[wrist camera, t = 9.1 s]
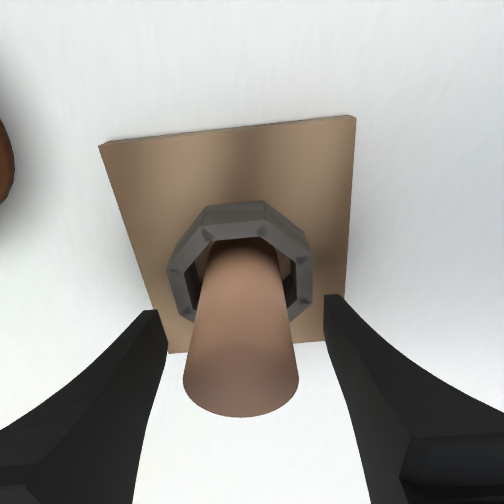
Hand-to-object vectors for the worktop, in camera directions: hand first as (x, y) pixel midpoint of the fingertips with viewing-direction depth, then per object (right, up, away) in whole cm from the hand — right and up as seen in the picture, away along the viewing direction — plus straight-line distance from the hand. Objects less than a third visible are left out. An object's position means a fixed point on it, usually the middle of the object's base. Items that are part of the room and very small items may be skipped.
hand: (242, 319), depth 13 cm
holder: (0, +3, +5) cm, 6 cm away
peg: (0, +2, +4) cm, 5 cm away
